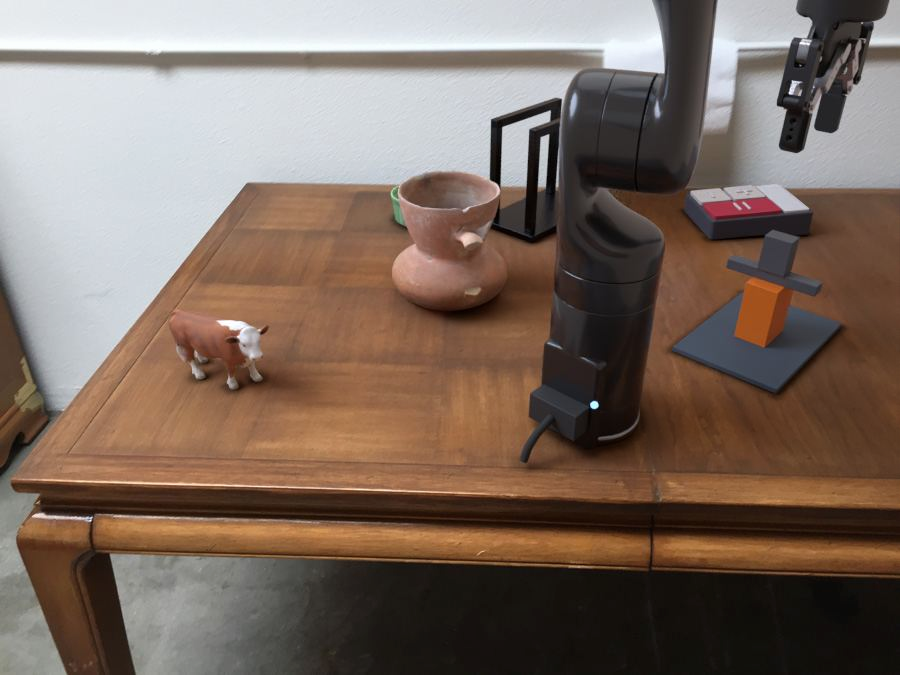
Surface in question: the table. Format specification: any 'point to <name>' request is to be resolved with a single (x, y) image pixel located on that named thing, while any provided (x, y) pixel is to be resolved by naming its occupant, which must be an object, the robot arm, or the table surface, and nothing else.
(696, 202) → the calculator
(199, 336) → the bull figurine
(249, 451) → the table surface
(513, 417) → the table surface
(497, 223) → the rack
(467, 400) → the table surface
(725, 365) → the mat
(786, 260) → the orange block with crossbar
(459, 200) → the ceramic jug
